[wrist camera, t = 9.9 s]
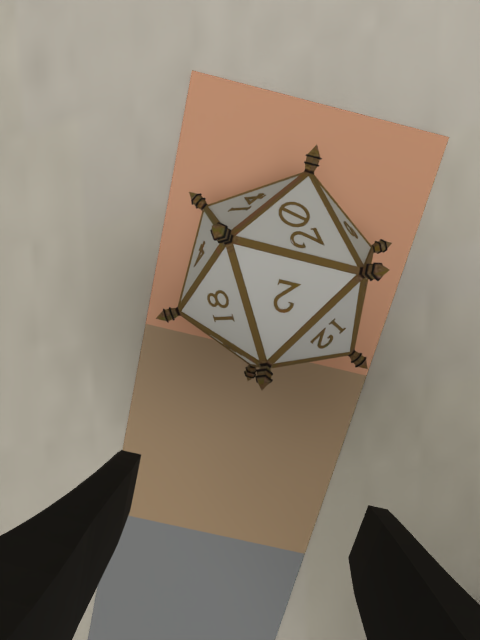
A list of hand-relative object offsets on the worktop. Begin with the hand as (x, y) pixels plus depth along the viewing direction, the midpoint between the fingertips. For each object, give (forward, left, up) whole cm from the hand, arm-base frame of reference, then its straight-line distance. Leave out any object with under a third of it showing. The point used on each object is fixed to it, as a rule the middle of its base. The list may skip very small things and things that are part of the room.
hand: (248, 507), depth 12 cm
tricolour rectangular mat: (0, +4, -9) cm, 10 cm away
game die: (0, -6, -9) cm, 11 cm away
